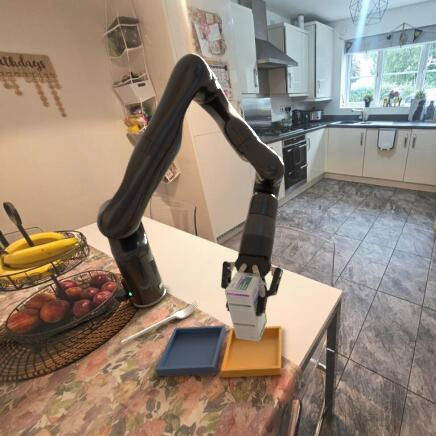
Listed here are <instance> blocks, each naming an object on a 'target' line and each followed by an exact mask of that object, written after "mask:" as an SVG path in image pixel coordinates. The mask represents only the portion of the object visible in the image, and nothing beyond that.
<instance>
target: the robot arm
mask: <svg viewBox="0 0 436 436" xmlns="http://www.w3.org/2000/svg"><path fill="white" fill-rule="evenodd" d="M192 102H195V103H196V104H197V105H198V106H200V108H201V109H202V110H204V111H205V112H206V113H207V114H208V115H209V117H211V118H212V119H213V121H214V123H216V125H217V126H218V128H219V130H220V132H221V134H222V135H223V137H224V139H225V140H226V141H227V143H228V144H229V146H230V147H231V148H232V150H233V151H234V152H235V153H236V155H237V157H239V158H240V160H242V161H243V162H245V163H249V164H250V165H251V166H252V168H253V169H254V171H255V173H254V174H255V175H254V182H253V186H252V187H253V188H252V195H251V196H250V200H249V204H248V207H247V213H246V218H245V220H244V224H243V228H242V230H241V237H240V242H239V248H238V252H237V258H236V259H235V261H226V260H225V261H223V262H222V269H221V279H220V288H221V289H223V290H225V289H226V288H227V286H228V285H229V283H230V281H231V280H232V275H233V274H232V273H233V272H234V270H236V272H237V273H252V274H258V275H260V278H259V293H260V297H259V298H258V304H257V310H256V316H262V314H263V313H265V311H267V303H268V299H269V298H270V297H274V296H276V295H277V294H278V291H279V287H280V284H281V280H282V277H283V273H284V269H283V268H281V267H280V266H277V267H276V266H273V265H272V263H271V261H272V255H273V251H274V250H273V249H274V243H275V236H276V229H277V228H276V227H277V226H276V225H277V218H278V211H279V195H280V194H279V193H280V189H281V185H282V181H283V179H284V176H285V173H286V166H285V163H284V162H283V160H282V158H281V157H280V155H279V154H277V153H276V152H275V151H274V150H273V149H272V148H271V147H269V146H268V145H267V144H266V143H264V142H263V141H262V140H261V139H260V137H259V136H258V135H257V134H256V132H255V131H254V130H253V128H252V127H251V126H250V125H249V124H248V122H247V121H246V120H245V119H244V118H243V117H242V116H241V115H240V114H239V113H238V112H237V110H236V109H235V108H234V107H233V106H232V104H231V102H230V101H229V100H228V97H227V95H226V94H225V92H224V90H223V89H222V86H221V85H220V83H219V80H218V78H217V76H216V75H215V73H214V72H213V70H212V69H211V68H210V66H209V65H208V64H207V62H206V61H205V59H204V58H202V56H201V55H199V54H197V53H186V54H184V55H183V56H182V57H180V58H179V59H178V60H177V62H176V63H175V65H174V67H173V69H172V70H171V73H170V76H169V77H168V80H167V83H166V85H165V87H164V90H163V93H162V95H161V98H160V99H159V102H158V103H157V106H156V108H155V109H154V112H153V114H152V116H151V118H150V119H149V121H148V123H147V125H146V127H145V128H144V129H143V131H142V133H141V135H140V137H139V138H138V140H137V142H136V144H135V145H134V147H133V150H132V152H131V154H130V157H129V159H128V162H127V165H126V168H125V171H124V174H123V178H122V181H121V183H120V184H119V186H118V188H117V190H116V192H115V193H114V195H113V196H112V198H110V199H107V200H105V201H104V202H103V203H102V204H101V205H100V206H99V208H98V211H97V215H96V226H97V229H98V231H99V232H100V234H101V235H102V236H104V237H105V238H107V240H108V245H109V248H110V253H111V255H112V257H113V260H114V262H115V264H116V266H117V269H118V271H119V273H120V276H121V277H122V278H121V280H120V283H121V286H122V288H121V289H120V290H119V292H118V293H117V294H115V295H116V296H115V295H114V296H115V297H116V298H115V299H116V301H117V303H126V302H128V301H129V303H130V305H131V306H134V307H135V308H138V309H146V308H150V307H153V306H155V305H157V304H158V303H160V302H161V301H163V299H164V298H165V297H166V294H167V289H166V287H165V284H164V280H163V279H162V277H161V273H160V271H159V268H158V265H157V261H156V259H155V256H154V254H153V251H152V247H151V245H150V242H149V239H148V234H147V232H146V230H145V226H144V224H143V221H142V219H143V217H144V214H145V212H146V210H147V207H148V205H149V203H150V200H151V199H152V197H153V195H154V194H155V192H156V190H157V189H158V187H159V186H160V184H161V183H162V182H163V180H164V178H165V177H166V175H167V174H168V172H169V170H170V169H171V167H172V166H173V163H175V160H176V159H177V156H178V154H179V153H180V150H181V148H182V142H183V134H184V121H185V116H186V114H187V112H188V109H189V108H190V105H191V103H192ZM269 273H270V275H271V277H272V279H271V283H270V285H269V289H268V284H267V279H266V277H267V275H269ZM225 308H226V311H227V312H230V311H229V307H228V303H227V302H226V303H225Z"/></svg>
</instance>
